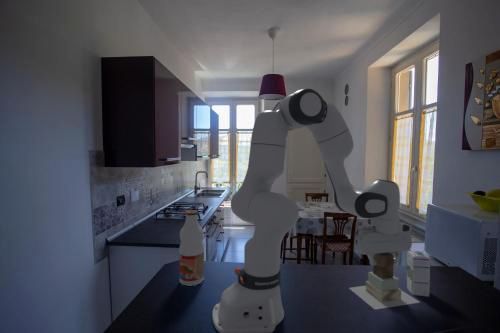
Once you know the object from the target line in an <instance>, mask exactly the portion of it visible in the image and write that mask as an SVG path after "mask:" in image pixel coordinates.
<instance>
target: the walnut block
mask: <svg viewBox="0 0 500 333" xmlns="http://www.w3.org/2000/svg"><path fill="white" fill-rule="evenodd" d="M373 259H374V260H376V261H377V263H376V266H372V268H373V269H372V272H373V274H375V275H377V276H378V277H380V278H381V279H386V278H393V276H394V264H395V263H394V255H393V253H391V252H388V253H377V254H374V257H373Z"/></svg>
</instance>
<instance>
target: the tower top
mask: <svg viewBox="0 0 500 333" xmlns="http://www.w3.org/2000/svg"><path fill="white" fill-rule="evenodd" d="M367 281H368V282H369V283H371V284H372V285H373V286H375V287H376V288H378V289H379V290H381V291H388V290H395V289H399V288H400V278H399V277H396V276H395V275H393V278H386V279H381V278H380V277H378V276H377V275H375V274H373V271H369V272H367Z"/></svg>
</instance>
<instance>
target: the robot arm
mask: <svg viewBox="0 0 500 333" xmlns="http://www.w3.org/2000/svg"><path fill="white" fill-rule="evenodd" d="M305 127H306V128H307V129H308V130H309V131H310V132H311V133H312V136H313V138H314V140H315V142H316V144H317V147H318V149H319V152H320V154H321V156H322V159H323V164H324V167H325V169H326V172H327V175H328V177H329V180H330V182H331V185H332V189H333V198H334V200H333V201H334V204H335V207H336V208H338V210H339V211H342V212H343V213H348V214H351V215H353V216H355V217H359V218H361V219H370V226H362V228H360V229H359V230H358V235H357V240H356V251H357V252H358V253H360V254H362V256H363V255H366V256H367V258H368V260H369V265H370V266H371V267H373V266H376V263H377V261H376V260H374V259H373V258H374V254H377V253H392V255H394V264H398V262H399V261H398V259H399V258H400V255H401V253H402V252H407V251H411V249H412V242H413V241H412V239H413V237H412V233H411V231H412V227H413V226H412V225H410V224H408V223H406V222H402V221H401V220H400V215H399V209H400V208H401V193H400V192H401V191H400V188H399V185H398V183H396V182H394V181H392V180H385V179H379V178H377V179H374V181H373V182H372V183H370V184H369V185H367V186H365V187H362V188H358V187H356V186H354V185H353V184H351V181H350V179H349V177H348V173H347V171H346V168H345V164H344V163H345V160H346V159H347V158H348V157H350V155H351V154H352V152H353V149H354V141H353V136H352V134H351V131H350V130H349V128H348V124H347V123H346V121H345V119H344V117H343V116H342V114H341V112H340V111H339V109H338V108H337V106H336V105H335V104H334V103H332V102H331V103H330V102H326V100H324V98H323V96H322V95H321V94H320V93H319V92H318V91H316V90H315V89H314V88H313V89H312V88H302V89H299V90H296V91H294V92H293V93H291V94H289V95H286V96H284V98H282V100H280V101H279V102H277V103H276V105H275V106H274V107H273V109H270V110H263V111H261V112H260V113H258V114H257V116H256V117H255V121H254V123H253V127H252V133H251V137H250V138H251V139H250V148H249V156H248V164H247V170H246V172H245V176H244V178H243V181H242V184H241V186H240V187H239V188H238V190H237V191H235V192H234V194H233V195H232V197H231V200H230V209H231V211H232V213H233V214H234V215H235V216H236V217H238V218H239V219H240V220H242V221H244V222H247V223H249V224H252V225H254V232H253V236H252V237H251V238H250V239H248V240H247V241H246V242H245V243H244V247H243V248H244V250H243V252H244V254H243V256H244V257H243V258H244V260H243V261H244V264H243V268H242V269H241V268H240V267H239V266H236V267H235V268H234V270H233V271H234V274H235V275H236V276H237V280H236V281H235V282H234V283H233V284H232V285H230V286H229V287H227V288H226V289H224V291H223V292H222V294H221V297H220V299H219V300H220V301H219V303H216V304H215V305H214V306H213V309H212V312H211V313H212V316H211V318H212V324H213V325H214V328H215V329H216V330H217V332H219V333H273V332H274V331H275V330H276V327H277V326H278V325H279V324H280V323H281V322H282V321H283V320H284V317H285V310H284V307H283V304H282V297H281V285H282V272H281V268H280V266H281V265H280V259H281V257H280V256H281V247H282V246H281V245H282V242H283V239H284V237H285V236H286V234H287V232H289V231H291V230H292V229H293V228H294V227H295V226H296V225H297V223H298V220H299V216H300V215H299V214H300V211H299V207H298V206H299V205H298V204H297V202H296V201H295V200H294V199H292V198H291V197H289V196H287V195H285V194H282V193H279V192H275V191H274V192H273V191H271V190H272V188H273V187H272V186H273V184H274V183H275V180H277V179H278V178H279V177H281V175H282V174H283V173H284V169H285V162H286V148H287V139H288V138H287V137H288V134H289V131H293V130H295V129H296V130H297V129H302V128H305Z"/></svg>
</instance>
